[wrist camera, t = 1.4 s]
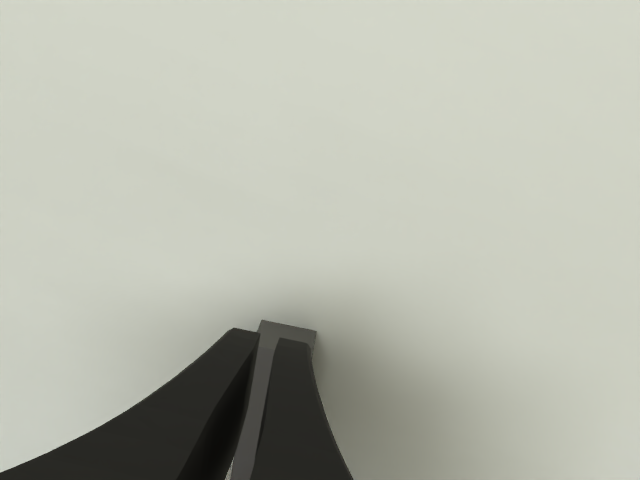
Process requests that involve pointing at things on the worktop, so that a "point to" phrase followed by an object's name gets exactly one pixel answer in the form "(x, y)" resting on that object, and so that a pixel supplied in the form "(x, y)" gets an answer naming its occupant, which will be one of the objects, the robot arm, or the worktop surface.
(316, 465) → the robot arm
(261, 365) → the plug
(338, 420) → the worktop surface
